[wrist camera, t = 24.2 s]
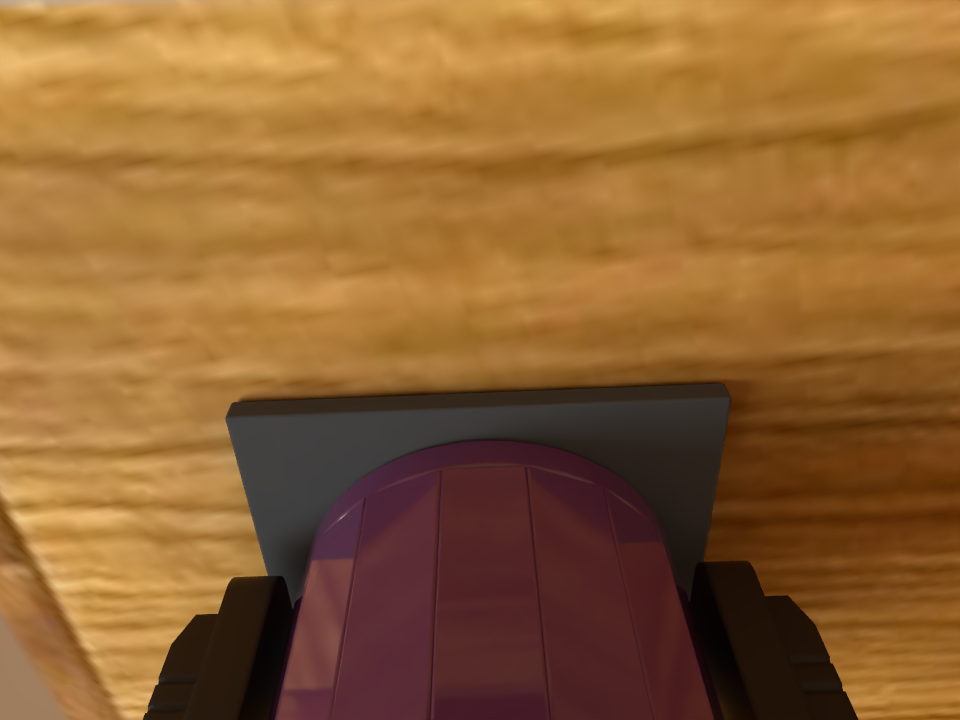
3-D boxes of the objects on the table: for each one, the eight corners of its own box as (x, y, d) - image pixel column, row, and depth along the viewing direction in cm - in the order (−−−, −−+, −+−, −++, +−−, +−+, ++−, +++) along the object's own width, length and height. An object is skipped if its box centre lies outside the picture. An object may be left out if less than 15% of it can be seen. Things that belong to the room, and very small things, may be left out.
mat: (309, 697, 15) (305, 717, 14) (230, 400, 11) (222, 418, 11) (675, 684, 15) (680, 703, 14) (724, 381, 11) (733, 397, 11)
